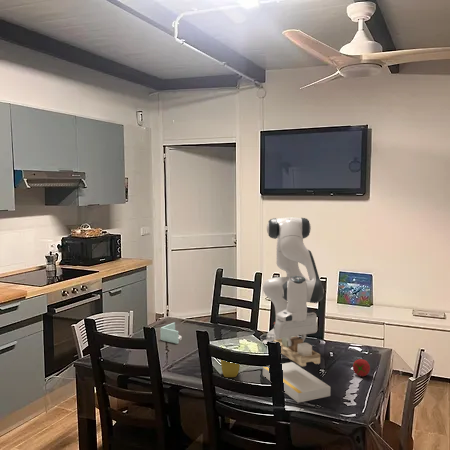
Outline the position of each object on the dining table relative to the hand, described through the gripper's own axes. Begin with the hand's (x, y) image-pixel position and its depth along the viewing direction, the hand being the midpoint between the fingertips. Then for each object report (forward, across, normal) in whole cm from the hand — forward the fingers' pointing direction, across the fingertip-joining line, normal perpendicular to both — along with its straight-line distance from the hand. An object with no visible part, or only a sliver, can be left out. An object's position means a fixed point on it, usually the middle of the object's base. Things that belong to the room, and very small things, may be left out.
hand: (295, 344), depth 216 cm
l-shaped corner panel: (+19, +29, -79) cm, 86 cm away
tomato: (+19, -34, +3) cm, 39 cm away
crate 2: (+2, 0, +7) cm, 7 cm away
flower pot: (+19, +22, -21) cm, 36 cm away
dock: (+18, 0, 0) cm, 18 cm away
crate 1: (+2, 0, -6) cm, 7 cm away
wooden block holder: (+5, 0, 0) cm, 5 cm away
